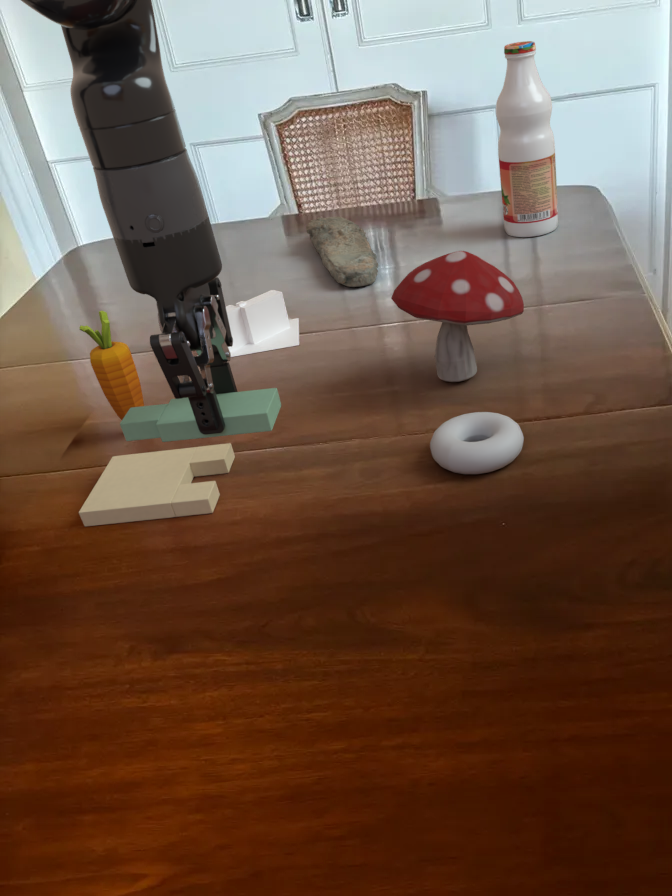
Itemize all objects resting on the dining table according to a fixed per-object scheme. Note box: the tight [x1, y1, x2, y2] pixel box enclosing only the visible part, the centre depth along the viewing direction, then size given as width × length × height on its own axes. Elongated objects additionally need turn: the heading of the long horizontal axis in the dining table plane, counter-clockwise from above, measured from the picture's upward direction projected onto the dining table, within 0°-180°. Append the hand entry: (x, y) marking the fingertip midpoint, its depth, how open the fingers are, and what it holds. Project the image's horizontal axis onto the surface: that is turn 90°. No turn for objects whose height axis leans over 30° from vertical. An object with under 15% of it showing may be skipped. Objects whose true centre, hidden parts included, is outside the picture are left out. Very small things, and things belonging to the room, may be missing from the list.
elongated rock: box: [305, 216, 379, 288], centre depth 155 cm, size 35×5×10 cm
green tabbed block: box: [119, 387, 282, 443], centre depth 80 cm, size 14×5×2 cm, turn 89°
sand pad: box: [78, 442, 236, 528], centre depth 98 cm, size 14×12×2 cm
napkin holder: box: [225, 289, 300, 358], centre depth 130 cm, size 15×11×6 cm
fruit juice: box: [495, 40, 559, 238], centre depth 148 cm, size 9×9×28 cm
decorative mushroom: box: [390, 250, 525, 383], centre depth 108 cm, size 16×16×15 cm
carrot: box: [79, 310, 145, 421], centre depth 107 cm, size 5×5×15 cm
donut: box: [429, 411, 525, 475], centre depth 95 cm, size 10×4×10 cm
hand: (220, 416), depth 80 cm, fingers closed on green tabbed block, 5 cm apart
